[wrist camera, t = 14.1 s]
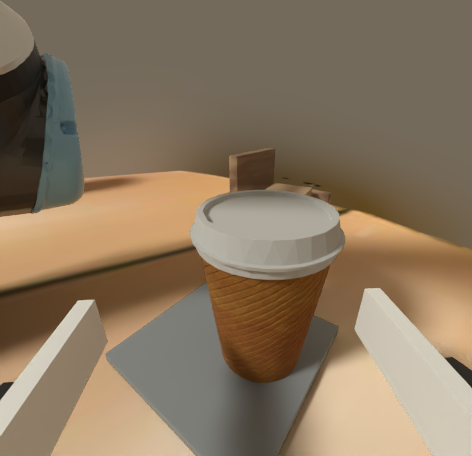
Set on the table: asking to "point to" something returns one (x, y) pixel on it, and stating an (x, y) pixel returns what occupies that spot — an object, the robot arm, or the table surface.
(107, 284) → the table surface
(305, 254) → the disposable coffee cup
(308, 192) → the offcut stack
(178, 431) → the slate mat
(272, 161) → the offcut rack
